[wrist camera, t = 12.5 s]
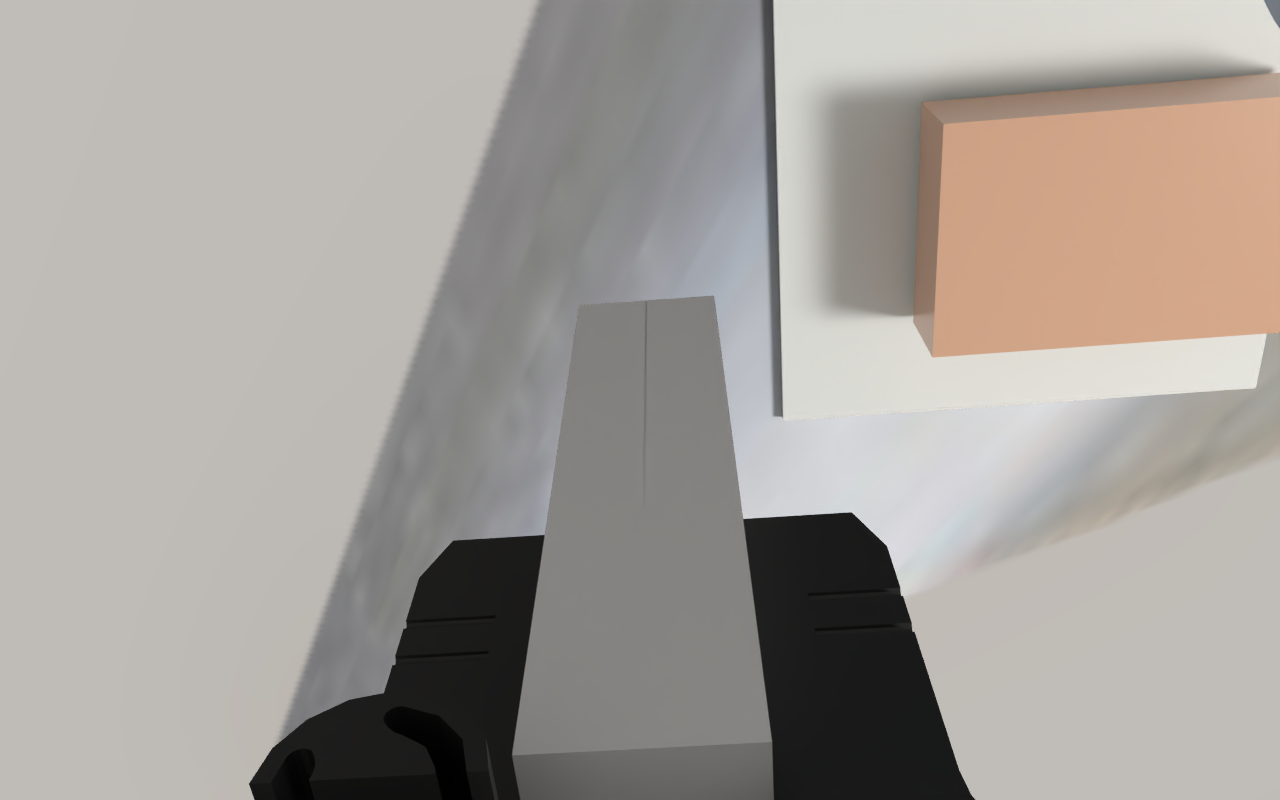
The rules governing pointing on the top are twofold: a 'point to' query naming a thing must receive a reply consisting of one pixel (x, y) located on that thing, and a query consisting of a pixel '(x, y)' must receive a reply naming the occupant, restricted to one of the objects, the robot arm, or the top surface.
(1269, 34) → the mat
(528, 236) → the top surface
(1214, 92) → the block
